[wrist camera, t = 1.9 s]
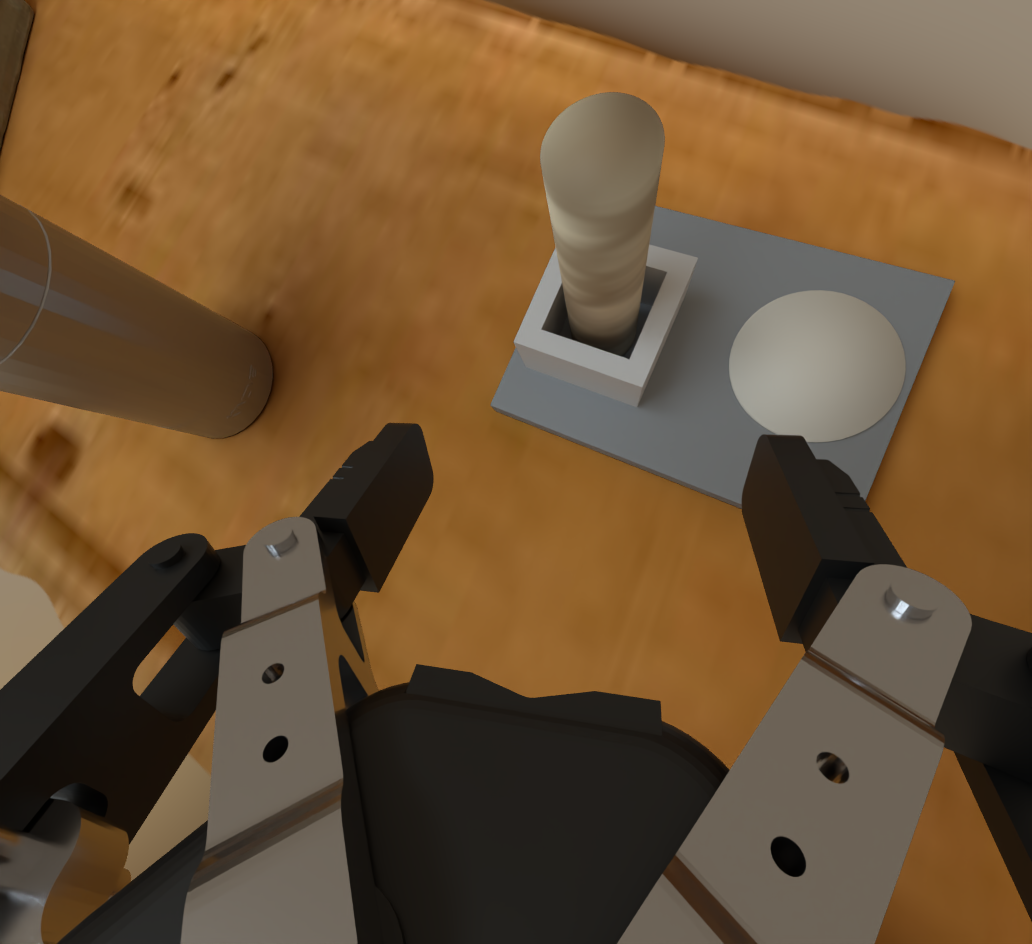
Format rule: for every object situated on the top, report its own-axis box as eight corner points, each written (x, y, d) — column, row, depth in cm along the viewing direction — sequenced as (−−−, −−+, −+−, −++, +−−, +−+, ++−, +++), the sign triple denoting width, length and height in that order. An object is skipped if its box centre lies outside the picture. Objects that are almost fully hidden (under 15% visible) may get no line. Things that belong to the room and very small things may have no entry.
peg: (562, 351, 28) (521, 188, 15) (586, 295, 28) (568, 82, 15) (620, 371, 27) (635, 217, 14) (645, 313, 28) (684, 104, 14)
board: (495, 411, 30) (472, 386, 25) (587, 204, 31) (583, 137, 25) (832, 545, 25) (893, 549, 20) (935, 294, 26) (1021, 233, 20)
